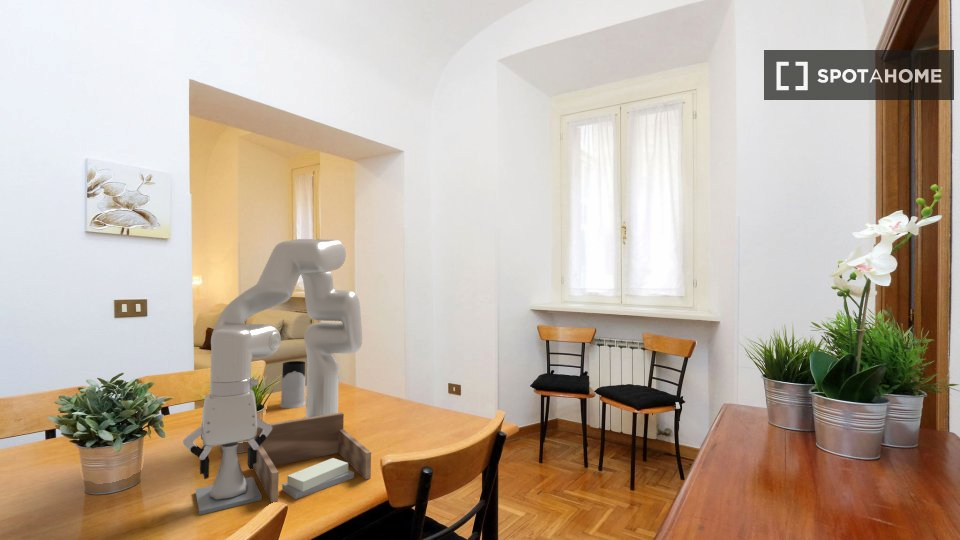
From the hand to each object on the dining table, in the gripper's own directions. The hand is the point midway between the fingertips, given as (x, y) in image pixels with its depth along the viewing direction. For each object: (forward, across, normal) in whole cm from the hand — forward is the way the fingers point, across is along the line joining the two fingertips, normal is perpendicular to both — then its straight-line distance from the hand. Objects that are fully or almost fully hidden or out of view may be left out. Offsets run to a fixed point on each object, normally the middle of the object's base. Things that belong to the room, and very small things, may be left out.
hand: (228, 471), depth 96 cm
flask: (+5, 0, 0) cm, 5 cm away
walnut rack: (+5, -18, -2) cm, 18 cm away
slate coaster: (+5, 0, 0) cm, 5 cm away
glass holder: (+5, -28, -67) cm, 73 cm away
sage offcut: (+4, -17, +4) cm, 18 cm away
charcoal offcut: (+6, -18, +4) cm, 19 cm away
